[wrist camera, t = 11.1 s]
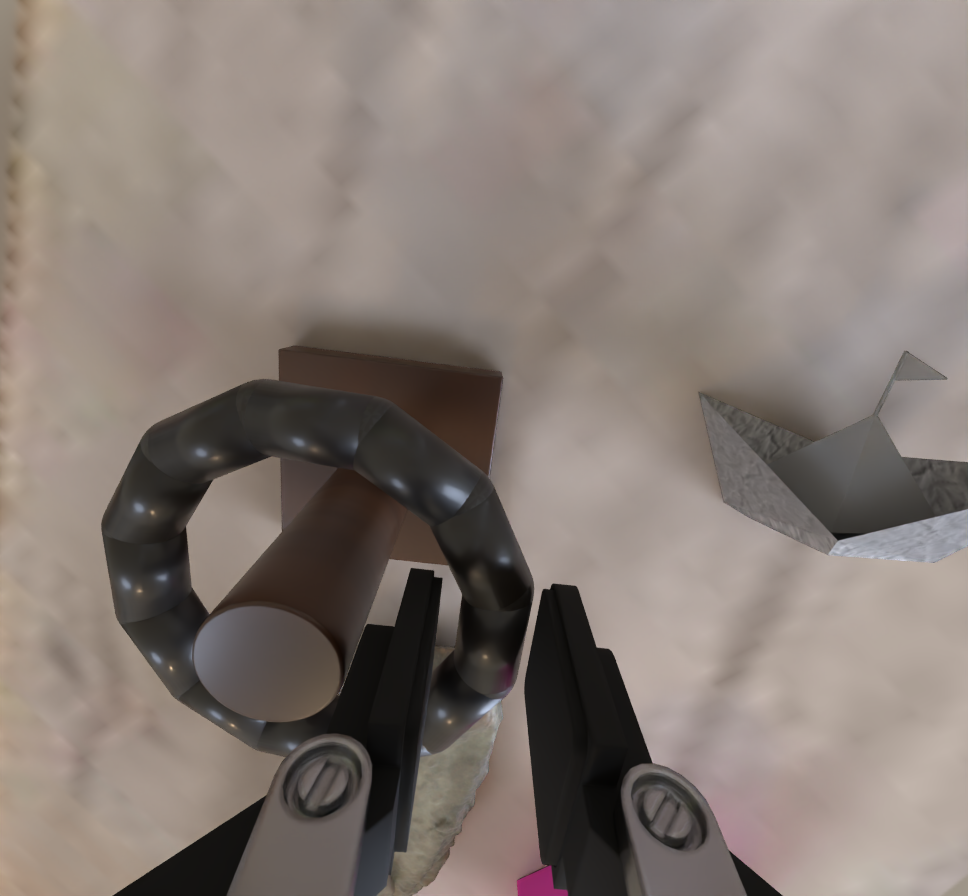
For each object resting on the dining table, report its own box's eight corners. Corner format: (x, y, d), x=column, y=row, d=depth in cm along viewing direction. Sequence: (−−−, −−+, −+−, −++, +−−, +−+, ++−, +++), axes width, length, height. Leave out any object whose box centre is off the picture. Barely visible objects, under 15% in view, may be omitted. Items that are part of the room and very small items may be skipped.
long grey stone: (214, 935, 34) (341, 958, 36) (172, 1047, 29) (320, 1067, 31) (366, 602, 22) (542, 660, 24) (337, 696, 18) (560, 761, 19)
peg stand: (293, 345, 19) (-21, 419, 7) (502, 371, 19) (528, 483, 8) (294, 531, 22) (70, 805, 10) (477, 551, 22) (468, 839, 10)
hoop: (122, 347, 10) (50, 356, 9) (565, 418, 10) (570, 440, 8) (165, 687, 14) (119, 735, 12) (497, 756, 13) (491, 817, 11)
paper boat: (654, 544, 21) (695, 356, 16) (685, 470, 25) (726, 305, 20) (1019, 672, 15) (1269, 444, 10) (977, 549, 20) (1136, 346, 14)
